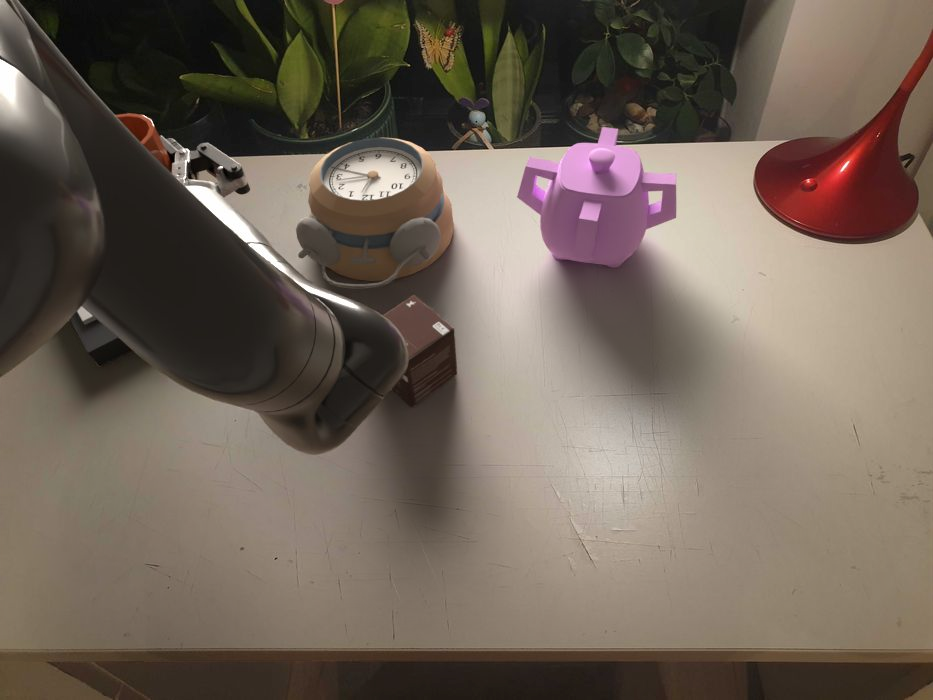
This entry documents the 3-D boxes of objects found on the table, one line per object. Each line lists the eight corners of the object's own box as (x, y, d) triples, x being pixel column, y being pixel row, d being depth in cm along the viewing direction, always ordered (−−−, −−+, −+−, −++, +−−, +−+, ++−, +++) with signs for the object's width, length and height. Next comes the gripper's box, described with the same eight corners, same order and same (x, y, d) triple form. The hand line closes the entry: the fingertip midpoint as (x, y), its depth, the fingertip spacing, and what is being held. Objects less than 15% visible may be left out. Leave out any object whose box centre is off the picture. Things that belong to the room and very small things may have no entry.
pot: (532, 184, 84) (535, 99, 75) (672, 201, 81) (693, 115, 72) (500, 282, 73) (500, 198, 64) (660, 307, 70) (684, 221, 61)
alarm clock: (454, 122, 77) (437, 259, 63) (458, 187, 84) (444, 323, 70) (311, 123, 78) (263, 258, 64) (327, 187, 86) (287, 320, 71)
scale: (99, 367, 68) (84, 349, 66) (54, 283, 77) (40, 264, 74) (223, 303, 73) (214, 284, 71) (168, 230, 82) (158, 211, 79)
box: (374, 373, 66) (362, 325, 60) (421, 341, 69) (413, 292, 63) (412, 410, 63) (403, 363, 58) (459, 375, 66) (455, 327, 60)
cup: (156, 257, 61) (104, 167, 53) (117, 230, 63) (62, 141, 55) (211, 219, 64) (168, 128, 56) (171, 195, 66) (125, 105, 58)
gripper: (278, 173, 52) (180, 92, 60) (103, 266, 46) (22, 163, 54) (302, 243, 58) (210, 161, 66) (150, 333, 52) (70, 231, 60)
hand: (125, 162), depth 60 cm, fingers closed on cup, 6 cm apart
